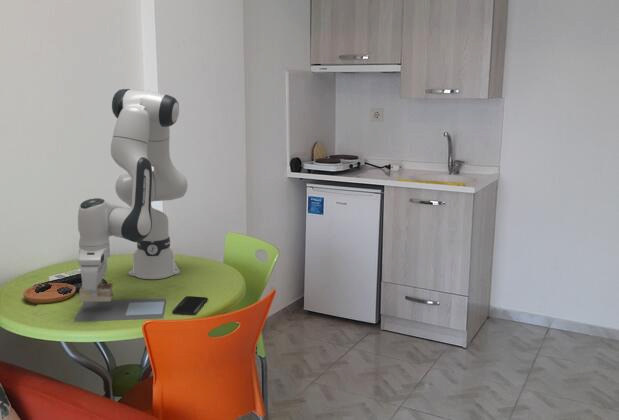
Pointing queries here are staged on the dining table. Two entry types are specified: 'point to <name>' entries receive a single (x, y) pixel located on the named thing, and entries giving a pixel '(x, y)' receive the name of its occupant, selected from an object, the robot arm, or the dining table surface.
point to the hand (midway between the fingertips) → (96, 294)
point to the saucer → (48, 294)
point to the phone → (190, 305)
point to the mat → (122, 310)
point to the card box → (103, 293)
